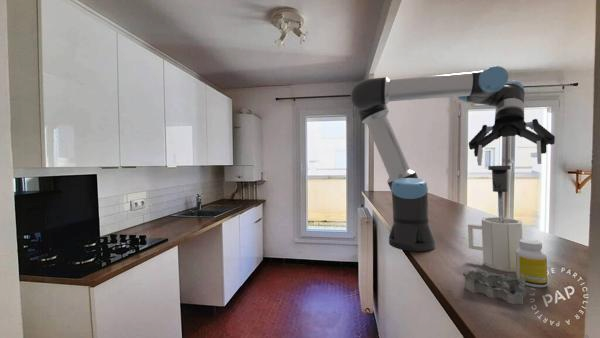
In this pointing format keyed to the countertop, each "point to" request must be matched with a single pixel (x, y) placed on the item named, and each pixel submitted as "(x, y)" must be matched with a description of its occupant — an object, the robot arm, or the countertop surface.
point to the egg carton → (483, 280)
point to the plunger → (500, 185)
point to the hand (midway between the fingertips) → (507, 161)
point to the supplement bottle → (531, 263)
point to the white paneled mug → (498, 242)
